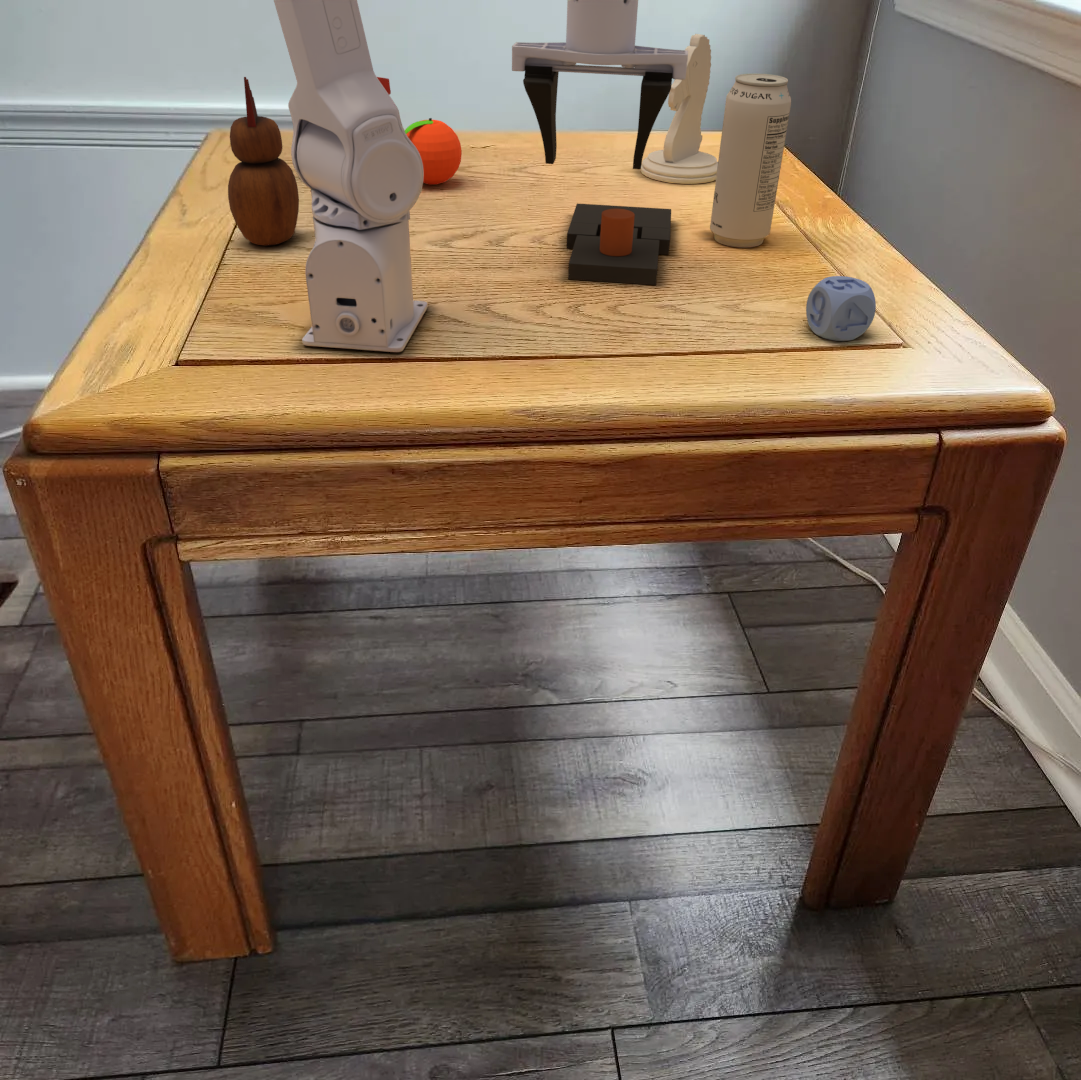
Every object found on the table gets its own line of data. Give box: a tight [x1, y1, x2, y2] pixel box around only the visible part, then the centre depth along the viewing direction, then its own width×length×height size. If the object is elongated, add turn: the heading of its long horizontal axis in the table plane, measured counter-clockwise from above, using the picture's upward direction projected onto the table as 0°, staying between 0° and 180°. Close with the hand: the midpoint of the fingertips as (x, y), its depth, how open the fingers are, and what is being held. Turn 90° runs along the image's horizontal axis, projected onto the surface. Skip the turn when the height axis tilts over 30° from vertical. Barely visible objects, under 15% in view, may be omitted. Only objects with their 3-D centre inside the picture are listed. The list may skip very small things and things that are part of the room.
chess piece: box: [640, 33, 718, 185], centre depth 112 cm, size 10×10×15 cm
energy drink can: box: [709, 73, 792, 249], centre depth 93 cm, size 6×6×15 cm
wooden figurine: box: [227, 76, 300, 247], centre depth 89 cm, size 7×6×15 cm
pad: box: [567, 209, 660, 286], centre depth 90 cm, size 11×8×5 cm
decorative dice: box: [805, 275, 877, 342], centre depth 77 cm, size 4×4×4 cm
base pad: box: [566, 202, 672, 256], centre depth 97 cm, size 10×10×2 cm
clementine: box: [404, 117, 463, 186], centre depth 108 cm, size 8×7×7 cm
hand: (593, 163), depth 84 cm, fingers open, 7 cm apart
